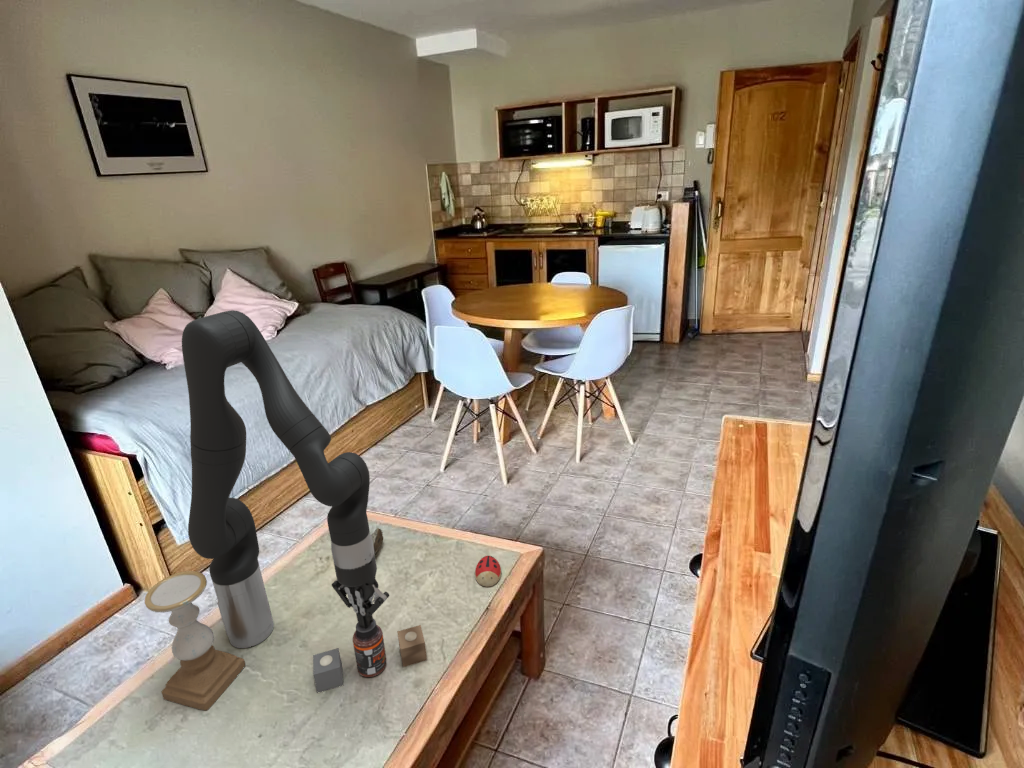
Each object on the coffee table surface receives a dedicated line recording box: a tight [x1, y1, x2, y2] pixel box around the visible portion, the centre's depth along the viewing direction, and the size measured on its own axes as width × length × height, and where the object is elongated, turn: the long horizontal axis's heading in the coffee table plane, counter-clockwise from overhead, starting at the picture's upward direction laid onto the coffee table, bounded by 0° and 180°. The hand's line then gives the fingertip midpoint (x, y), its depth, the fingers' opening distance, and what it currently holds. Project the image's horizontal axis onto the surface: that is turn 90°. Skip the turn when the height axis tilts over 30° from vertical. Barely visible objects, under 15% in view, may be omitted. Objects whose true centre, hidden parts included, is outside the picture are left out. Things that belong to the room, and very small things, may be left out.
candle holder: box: [144, 570, 246, 712], centre depth 106 cm, size 11×11×24 cm
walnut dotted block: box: [396, 624, 428, 668], centre depth 114 cm, size 5×5×5 cm
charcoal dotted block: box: [312, 647, 344, 694], centre depth 109 cm, size 5×5×5 cm
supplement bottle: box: [352, 618, 387, 678], centre depth 111 cm, size 6×6×11 cm
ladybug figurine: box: [474, 555, 502, 588], centre depth 137 cm, size 7×10×4 cm
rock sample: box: [370, 527, 384, 555], centre depth 146 cm, size 10×8×9 cm
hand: (366, 624), depth 109 cm, fingers closed
